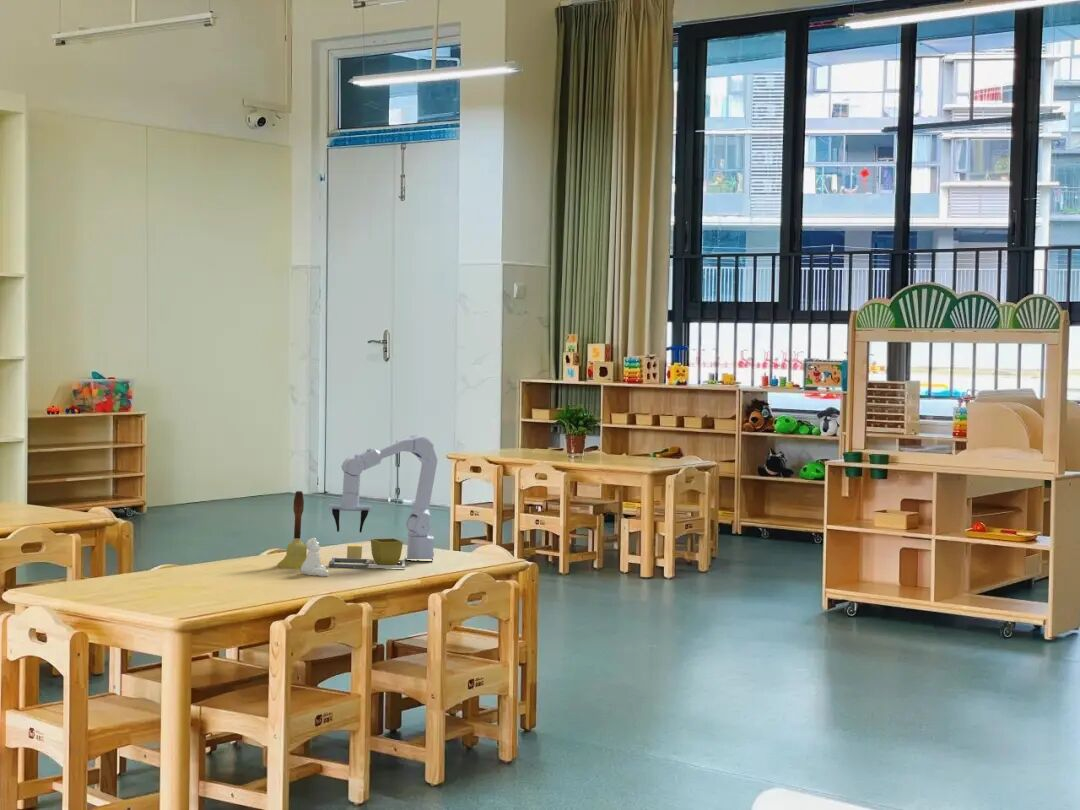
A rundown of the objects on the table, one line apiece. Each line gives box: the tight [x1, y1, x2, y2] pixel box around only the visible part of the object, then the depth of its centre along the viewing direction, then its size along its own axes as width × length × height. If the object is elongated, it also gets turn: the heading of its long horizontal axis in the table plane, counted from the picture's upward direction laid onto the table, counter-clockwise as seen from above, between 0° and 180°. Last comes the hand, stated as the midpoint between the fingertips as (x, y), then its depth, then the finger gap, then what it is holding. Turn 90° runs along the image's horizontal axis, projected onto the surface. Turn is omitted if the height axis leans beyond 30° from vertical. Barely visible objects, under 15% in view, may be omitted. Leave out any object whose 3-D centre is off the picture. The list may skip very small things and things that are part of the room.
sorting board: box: [329, 557, 406, 569], centre depth 449 cm, size 25×13×1 cm, turn 96°
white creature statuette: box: [300, 537, 330, 577], centre depth 426 cm, size 10×9×12 cm
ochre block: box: [346, 543, 363, 559], centre depth 461 cm, size 5×5×5 cm
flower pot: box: [370, 537, 404, 566], centre depth 449 cm, size 9×9×9 cm
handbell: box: [277, 490, 308, 569], centre depth 442 cm, size 12×12×25 cm
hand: (349, 531), depth 455 cm, fingers open, 7 cm apart
